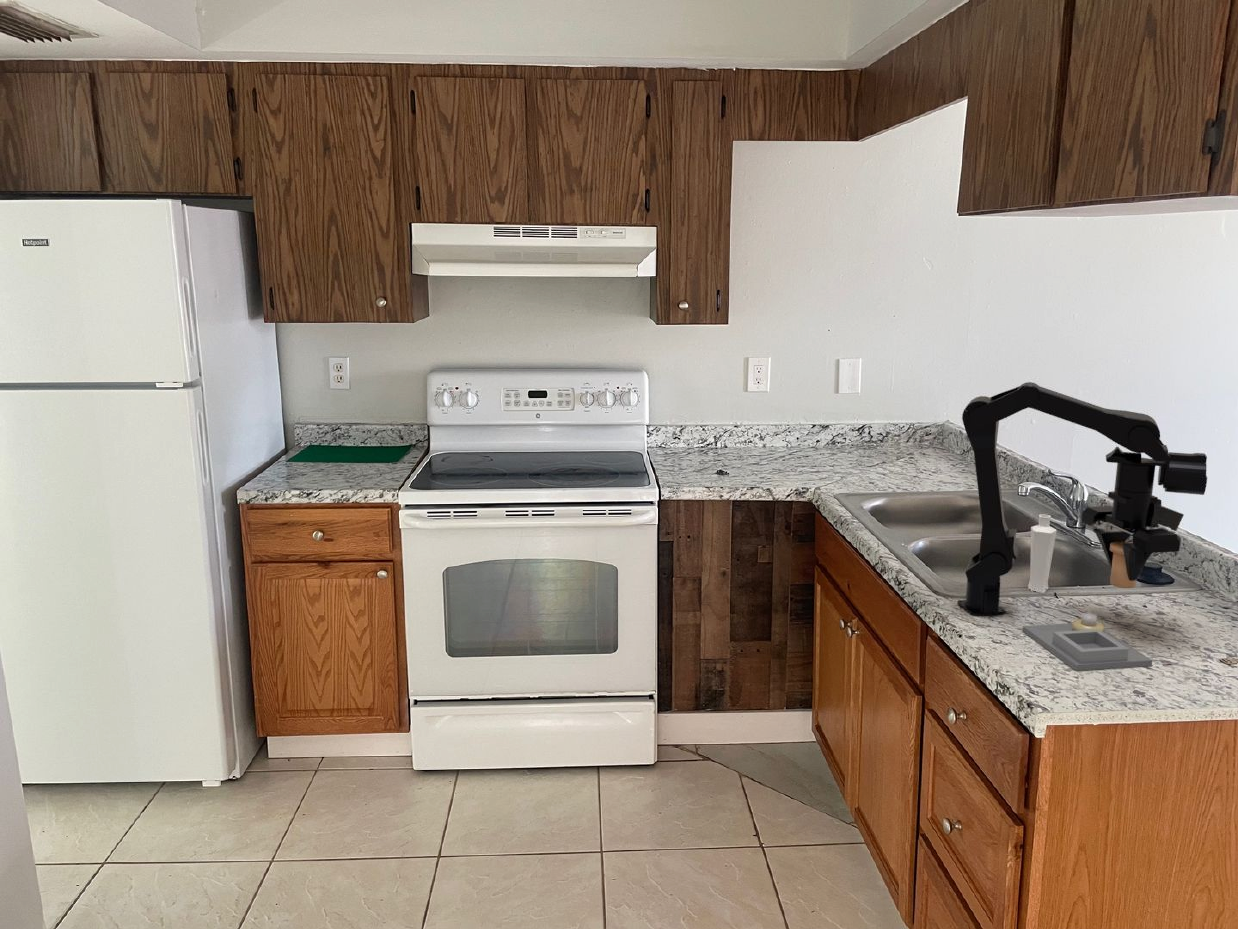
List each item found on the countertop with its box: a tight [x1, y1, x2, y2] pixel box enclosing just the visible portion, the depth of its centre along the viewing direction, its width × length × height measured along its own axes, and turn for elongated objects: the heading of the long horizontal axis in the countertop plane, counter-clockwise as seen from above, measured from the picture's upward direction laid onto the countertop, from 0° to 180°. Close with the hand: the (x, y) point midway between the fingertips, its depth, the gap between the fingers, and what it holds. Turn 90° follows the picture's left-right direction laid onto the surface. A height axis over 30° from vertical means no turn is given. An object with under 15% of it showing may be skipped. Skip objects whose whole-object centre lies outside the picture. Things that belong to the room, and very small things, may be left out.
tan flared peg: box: [1109, 541, 1138, 589], centre depth 166 cm, size 5×5×7 cm
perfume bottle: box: [1027, 513, 1057, 594], centre depth 186 cm, size 5×4×15 cm
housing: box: [1022, 612, 1153, 672], centre depth 160 cm, size 16×13×4 cm
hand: (1123, 575), depth 166 cm, fingers closed on tan flared peg, 4 cm apart
